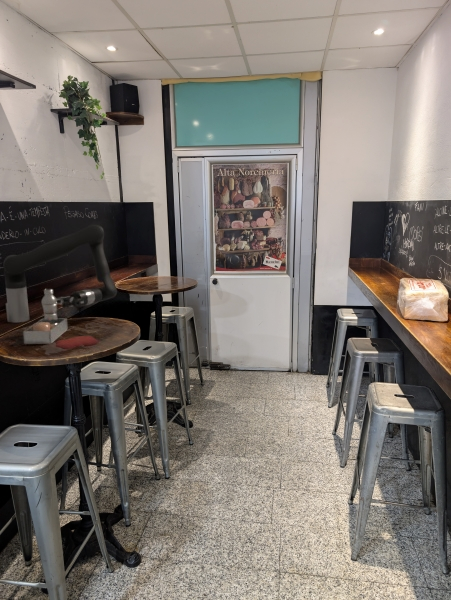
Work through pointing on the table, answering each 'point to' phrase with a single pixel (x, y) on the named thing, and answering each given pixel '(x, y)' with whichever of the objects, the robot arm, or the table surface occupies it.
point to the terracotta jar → (41, 326)
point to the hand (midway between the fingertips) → (55, 304)
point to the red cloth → (76, 342)
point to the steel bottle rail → (45, 333)
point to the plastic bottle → (50, 307)
